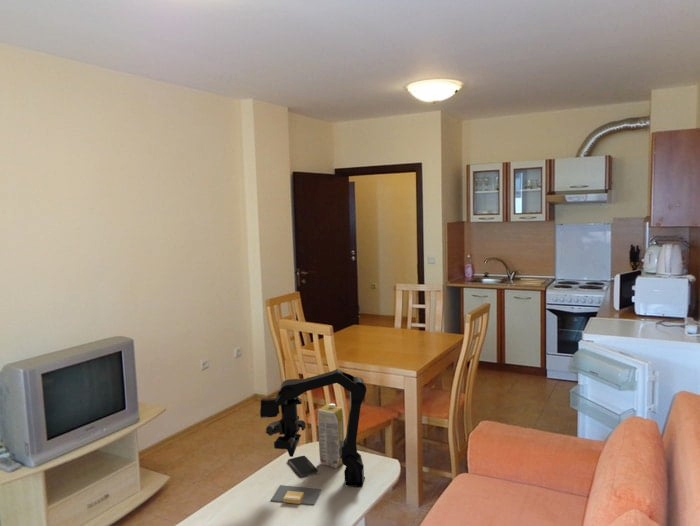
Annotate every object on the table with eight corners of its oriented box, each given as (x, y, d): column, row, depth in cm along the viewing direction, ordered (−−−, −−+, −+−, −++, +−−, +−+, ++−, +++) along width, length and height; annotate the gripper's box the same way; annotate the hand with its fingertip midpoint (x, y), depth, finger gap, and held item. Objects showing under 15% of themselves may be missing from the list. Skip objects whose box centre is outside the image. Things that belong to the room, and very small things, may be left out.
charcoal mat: (321, 489, 193) (321, 488, 193) (314, 505, 183) (314, 504, 183) (280, 486, 197) (280, 485, 197) (270, 501, 187) (270, 500, 187)
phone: (299, 476, 202) (286, 459, 215) (300, 479, 202) (286, 462, 215) (319, 471, 205) (304, 455, 219) (319, 473, 205) (304, 457, 219)
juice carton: (347, 461, 214) (345, 404, 211) (336, 470, 207) (334, 411, 204) (328, 456, 219) (326, 400, 216) (317, 464, 212) (314, 406, 209)
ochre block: (303, 491, 189) (299, 499, 184) (303, 495, 189) (299, 503, 184) (287, 490, 190) (283, 498, 185) (287, 494, 190) (283, 502, 185)
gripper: (277, 404, 203) (279, 443, 205) (258, 424, 185) (261, 467, 187) (305, 406, 201) (306, 445, 203) (289, 426, 183) (291, 469, 184)
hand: (291, 456), depth 194 cm, fingers closed
